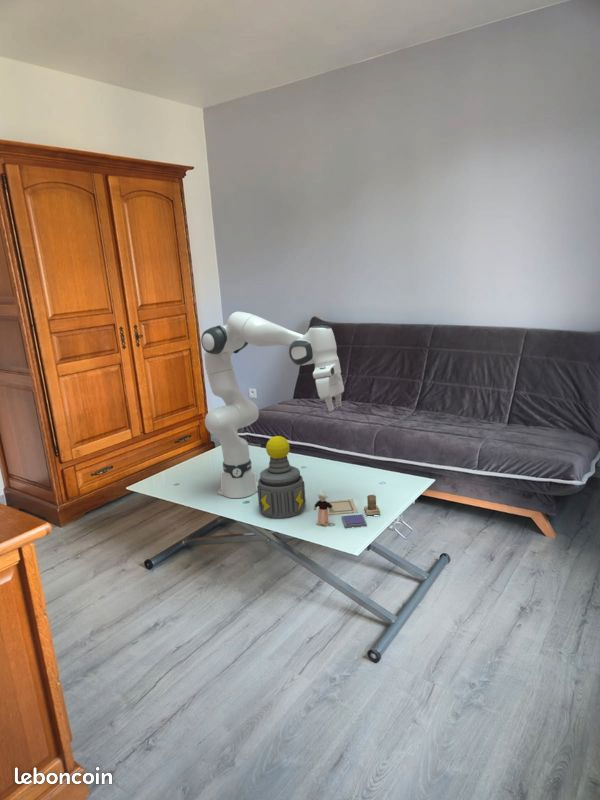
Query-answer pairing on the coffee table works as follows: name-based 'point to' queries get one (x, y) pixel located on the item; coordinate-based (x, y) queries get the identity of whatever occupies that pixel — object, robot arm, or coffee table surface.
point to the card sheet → (342, 507)
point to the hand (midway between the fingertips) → (335, 408)
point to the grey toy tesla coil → (280, 483)
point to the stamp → (371, 506)
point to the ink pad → (354, 521)
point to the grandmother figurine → (323, 509)
